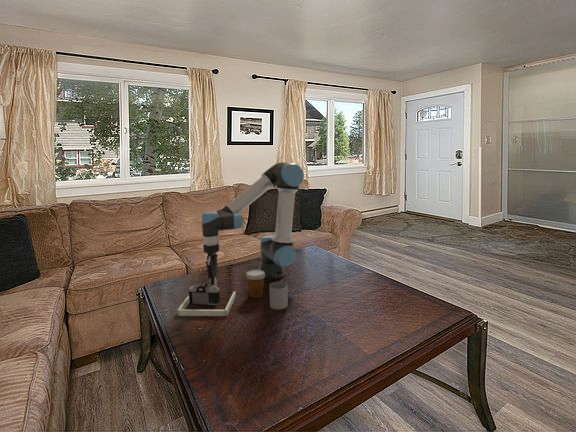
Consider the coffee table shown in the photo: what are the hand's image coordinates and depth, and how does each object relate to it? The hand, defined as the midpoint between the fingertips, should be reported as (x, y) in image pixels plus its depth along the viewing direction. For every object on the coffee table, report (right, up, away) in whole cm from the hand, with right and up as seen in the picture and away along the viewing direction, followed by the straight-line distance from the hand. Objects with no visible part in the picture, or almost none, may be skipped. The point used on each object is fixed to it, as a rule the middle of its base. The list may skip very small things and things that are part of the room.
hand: (213, 289), depth 173 cm
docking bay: (0, -5, -9) cm, 11 cm away
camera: (-2, -5, -5) cm, 7 cm away
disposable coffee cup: (+21, -3, +1) cm, 21 cm away
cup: (+33, -5, -11) cm, 35 cm away
